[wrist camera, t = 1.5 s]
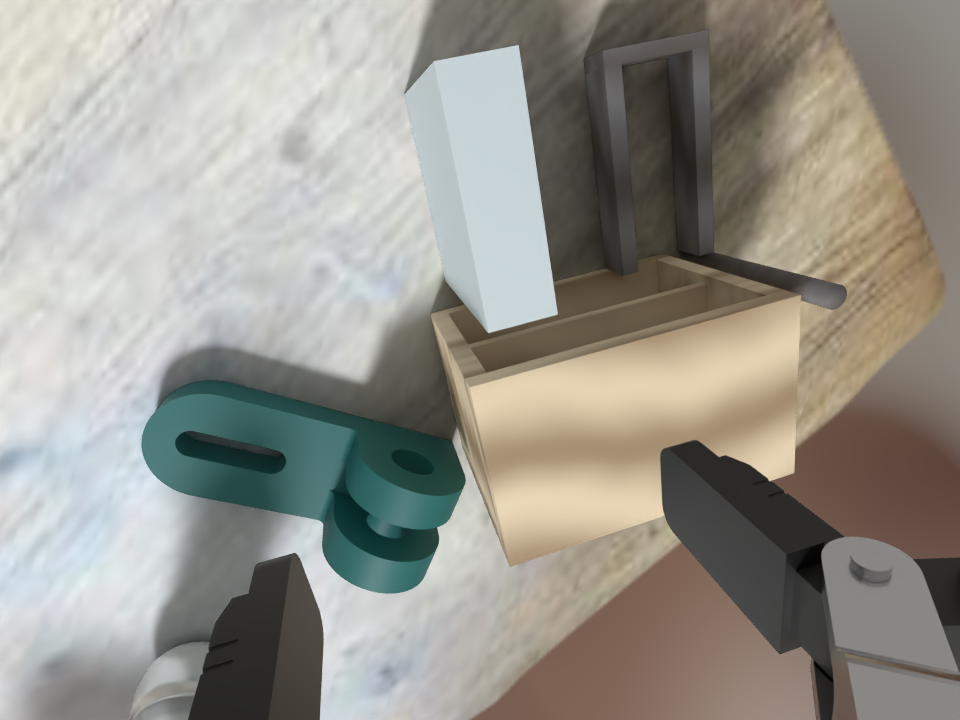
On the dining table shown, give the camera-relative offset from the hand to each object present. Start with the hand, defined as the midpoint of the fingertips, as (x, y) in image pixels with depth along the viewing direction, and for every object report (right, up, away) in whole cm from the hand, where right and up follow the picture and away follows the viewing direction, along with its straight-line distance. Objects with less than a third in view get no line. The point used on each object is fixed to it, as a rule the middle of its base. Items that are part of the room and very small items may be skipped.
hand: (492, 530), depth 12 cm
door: (-2, +14, +20) cm, 24 cm away
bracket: (-12, -2, +24) cm, 27 cm away
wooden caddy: (+5, +10, +23) cm, 26 cm away
